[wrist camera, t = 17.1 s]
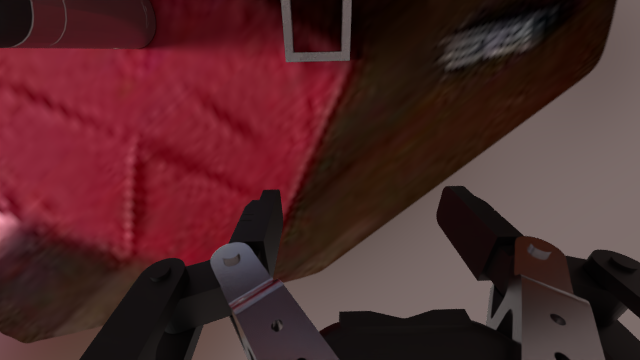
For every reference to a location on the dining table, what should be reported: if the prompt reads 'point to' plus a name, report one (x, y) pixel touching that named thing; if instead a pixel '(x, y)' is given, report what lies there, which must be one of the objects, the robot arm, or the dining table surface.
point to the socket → (316, 56)
